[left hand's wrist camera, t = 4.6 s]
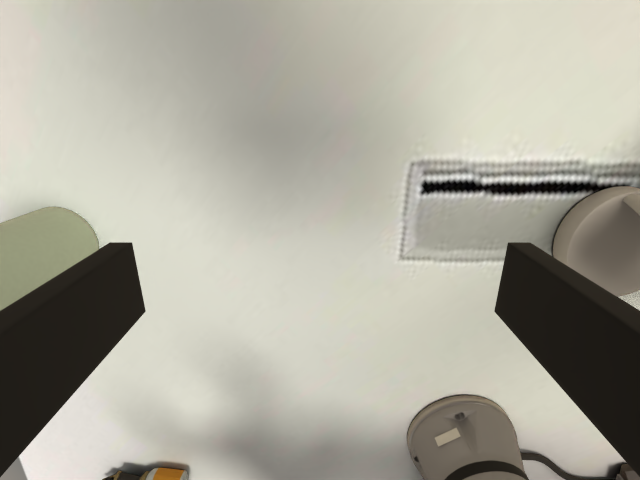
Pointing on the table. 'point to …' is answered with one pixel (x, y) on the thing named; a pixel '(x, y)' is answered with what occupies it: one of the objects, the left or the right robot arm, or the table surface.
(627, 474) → the toy
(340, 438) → the table surface
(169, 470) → the spray gun
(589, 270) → the bust sculpture
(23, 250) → the jar
